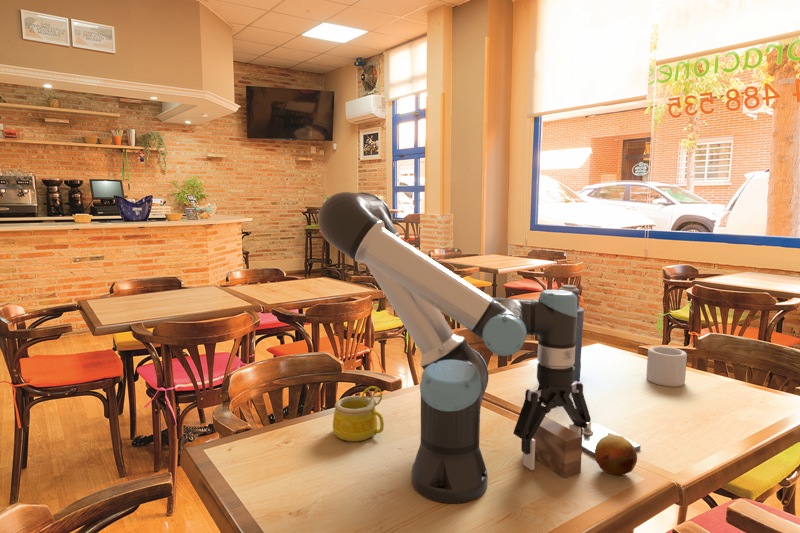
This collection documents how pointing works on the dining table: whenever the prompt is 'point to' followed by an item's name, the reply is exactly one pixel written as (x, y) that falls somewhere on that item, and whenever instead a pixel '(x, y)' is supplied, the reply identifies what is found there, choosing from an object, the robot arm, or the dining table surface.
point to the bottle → (578, 331)
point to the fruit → (615, 455)
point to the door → (558, 448)
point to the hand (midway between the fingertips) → (551, 460)
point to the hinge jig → (597, 437)
